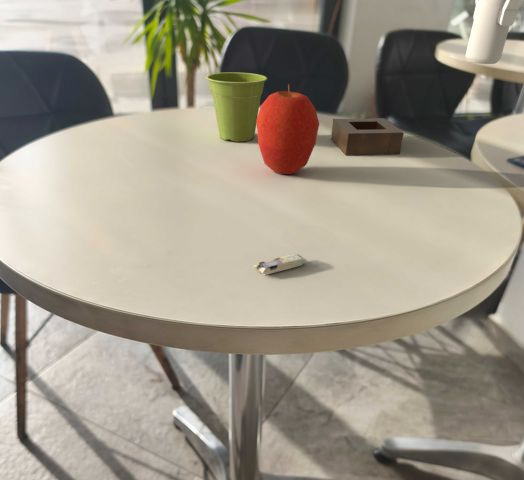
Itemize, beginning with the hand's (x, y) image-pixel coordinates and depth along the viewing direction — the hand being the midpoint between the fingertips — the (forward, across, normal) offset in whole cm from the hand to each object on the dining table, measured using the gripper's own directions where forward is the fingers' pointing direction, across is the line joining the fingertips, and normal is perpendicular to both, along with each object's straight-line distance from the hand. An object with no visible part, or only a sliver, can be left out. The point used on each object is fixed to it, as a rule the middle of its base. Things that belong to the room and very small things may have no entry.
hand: (491, 23), depth 68 cm
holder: (+23, +24, +7) cm, 34 cm away
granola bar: (+23, -24, +33) cm, 47 cm away
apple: (+23, +10, +26) cm, 36 cm away
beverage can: (+5, 0, 0) cm, 5 cm away
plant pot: (+23, +32, +32) cm, 51 cm away
